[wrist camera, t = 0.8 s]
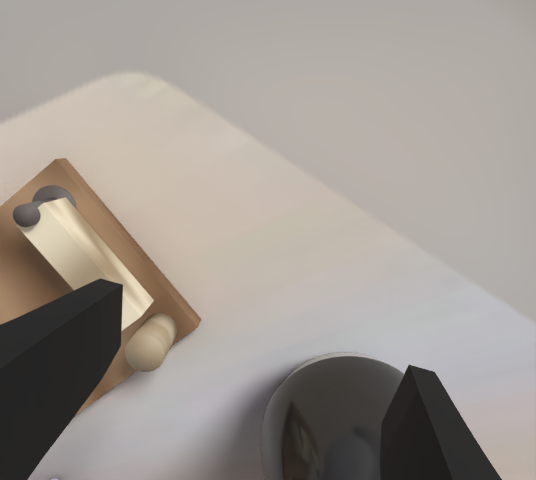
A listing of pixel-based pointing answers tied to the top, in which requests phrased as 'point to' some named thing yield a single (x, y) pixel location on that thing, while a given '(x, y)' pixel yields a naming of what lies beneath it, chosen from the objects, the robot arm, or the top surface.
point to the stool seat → (54, 286)
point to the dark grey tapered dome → (328, 419)
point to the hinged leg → (78, 251)
